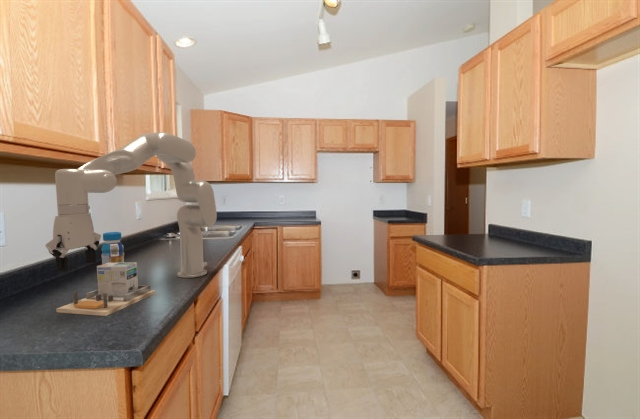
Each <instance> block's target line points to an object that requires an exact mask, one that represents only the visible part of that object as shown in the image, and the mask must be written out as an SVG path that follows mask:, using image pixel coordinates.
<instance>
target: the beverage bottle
mask: <svg viewBox="0 0 640 419" xmlns="http://www.w3.org/2000/svg"><path fill="white" fill-rule="evenodd" d="M102 240H103V242H104V243H103V244H102V246H101V249H100V250H101V252H102V253H101V256H100V257H101V265H103V264H106V263H125V260H124V259H125V258H124V257H125V252H124V244H123V243H122V242H121V241H122V232H120V231H109V232H104V233H102Z"/></svg>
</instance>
